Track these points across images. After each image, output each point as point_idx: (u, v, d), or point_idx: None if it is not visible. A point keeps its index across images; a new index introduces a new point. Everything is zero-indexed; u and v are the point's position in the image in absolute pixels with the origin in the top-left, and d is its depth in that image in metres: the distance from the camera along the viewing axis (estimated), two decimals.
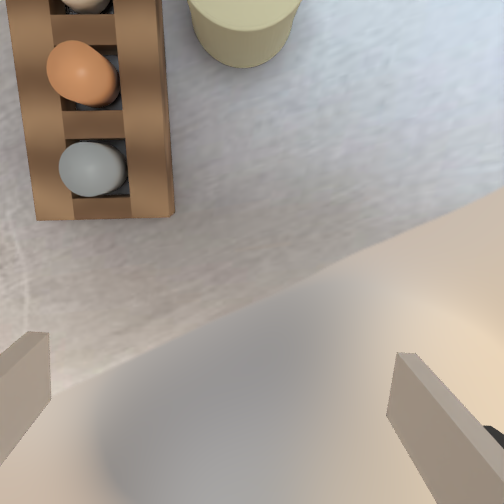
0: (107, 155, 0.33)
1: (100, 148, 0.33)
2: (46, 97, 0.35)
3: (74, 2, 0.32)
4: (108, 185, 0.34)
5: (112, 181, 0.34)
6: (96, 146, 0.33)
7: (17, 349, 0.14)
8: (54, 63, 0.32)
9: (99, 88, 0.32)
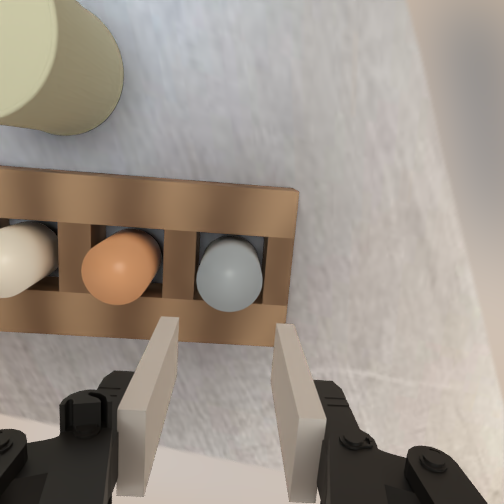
0: (214, 252, 0.27)
1: (205, 259, 0.27)
2: (146, 311, 0.31)
3: (42, 262, 0.28)
4: (251, 257, 0.27)
5: (246, 252, 0.27)
6: (202, 264, 0.27)
7: (163, 330, 0.16)
8: (106, 294, 0.27)
9: (136, 249, 0.27)
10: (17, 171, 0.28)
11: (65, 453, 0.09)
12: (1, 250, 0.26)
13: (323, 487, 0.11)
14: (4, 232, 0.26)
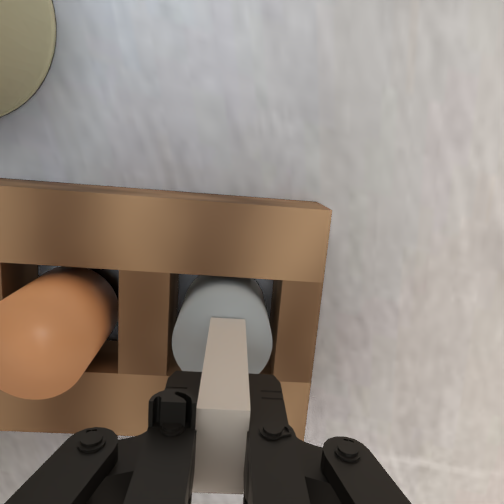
0: (199, 302, 0.18)
1: (185, 313, 0.18)
2: (94, 393, 0.20)
3: None
4: (255, 309, 0.18)
5: (248, 300, 0.18)
6: (181, 319, 0.18)
7: (217, 331, 0.16)
8: (17, 384, 0.16)
9: (63, 311, 0.16)
10: None
11: (151, 448, 0.10)
12: None
13: (245, 481, 0.11)
14: None
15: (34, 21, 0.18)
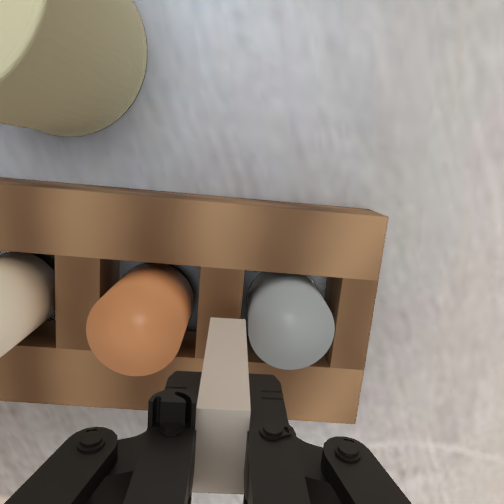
0: (273, 294, 0.20)
1: (261, 303, 0.21)
2: None
3: (32, 313, 0.20)
4: (321, 301, 0.21)
5: (314, 293, 0.21)
6: (257, 308, 0.21)
7: (216, 331, 0.16)
8: (120, 362, 0.19)
9: (164, 300, 0.19)
10: (0, 185, 0.20)
11: (151, 448, 0.10)
12: None
13: (245, 481, 0.11)
14: None
15: (135, 52, 0.21)
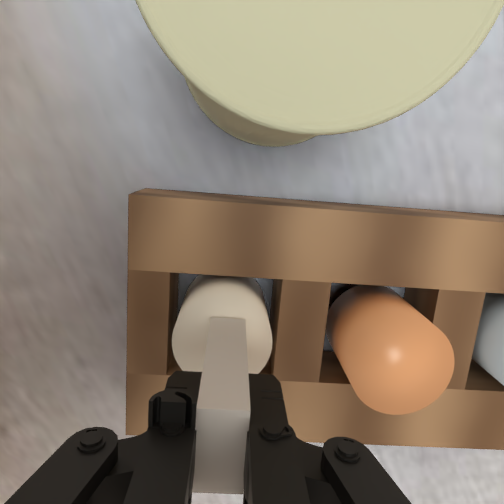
0: None
1: None
2: None
3: None
4: None
5: None
6: None
7: (217, 331, 0.16)
8: (383, 400, 0.17)
9: (440, 332, 0.17)
10: (231, 204, 0.18)
11: (152, 448, 0.10)
12: None
13: (245, 481, 0.11)
14: (234, 294, 0.18)
15: None
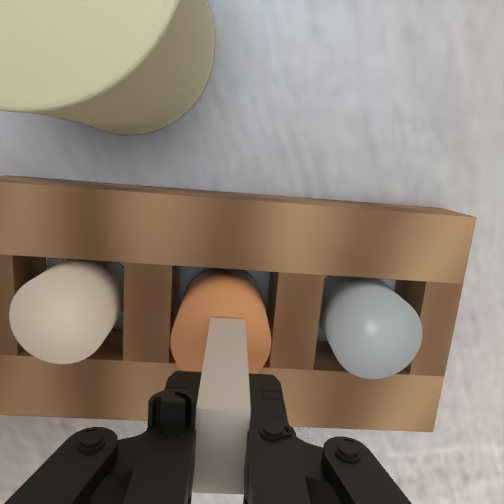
0: (360, 300, 0.19)
1: (347, 310, 0.19)
2: None
3: (115, 312, 0.20)
4: (409, 306, 0.20)
5: None
6: (342, 315, 0.20)
7: (216, 331, 0.16)
8: None
9: (254, 308, 0.18)
10: (66, 188, 0.19)
11: (151, 448, 0.10)
12: (64, 299, 0.19)
13: (245, 481, 0.11)
14: (68, 274, 0.19)
15: (209, 44, 0.19)
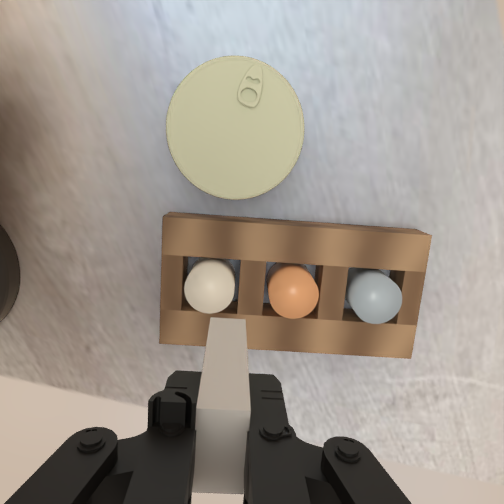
0: (368, 280, 0.36)
1: (361, 285, 0.36)
2: (304, 329, 0.39)
3: None
4: (394, 283, 0.36)
5: (390, 279, 0.37)
6: (358, 288, 0.36)
7: (216, 331, 0.16)
8: (285, 311, 0.37)
9: (310, 278, 0.36)
10: (213, 221, 0.36)
11: (151, 448, 0.10)
12: (213, 278, 0.36)
13: (245, 481, 0.11)
14: (215, 265, 0.36)
15: None
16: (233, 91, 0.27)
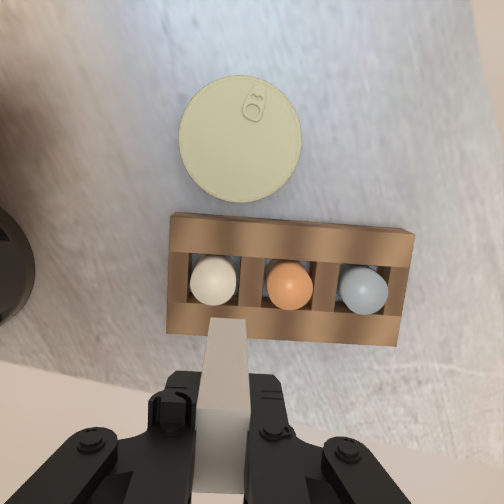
0: (357, 275, 0.40)
1: (351, 279, 0.40)
2: (299, 320, 0.42)
3: None
4: (381, 278, 0.40)
5: None
6: (349, 282, 0.40)
7: (217, 331, 0.16)
8: (283, 303, 0.40)
9: (305, 273, 0.40)
10: (217, 221, 0.40)
11: (151, 448, 0.10)
12: (216, 273, 0.39)
13: (245, 481, 0.11)
14: (218, 261, 0.39)
15: None
16: (238, 106, 0.30)
